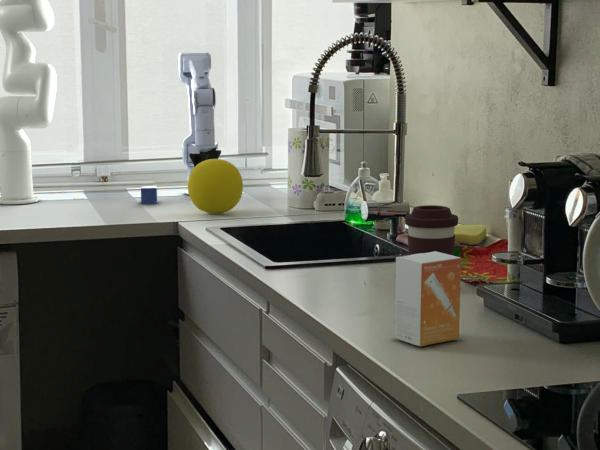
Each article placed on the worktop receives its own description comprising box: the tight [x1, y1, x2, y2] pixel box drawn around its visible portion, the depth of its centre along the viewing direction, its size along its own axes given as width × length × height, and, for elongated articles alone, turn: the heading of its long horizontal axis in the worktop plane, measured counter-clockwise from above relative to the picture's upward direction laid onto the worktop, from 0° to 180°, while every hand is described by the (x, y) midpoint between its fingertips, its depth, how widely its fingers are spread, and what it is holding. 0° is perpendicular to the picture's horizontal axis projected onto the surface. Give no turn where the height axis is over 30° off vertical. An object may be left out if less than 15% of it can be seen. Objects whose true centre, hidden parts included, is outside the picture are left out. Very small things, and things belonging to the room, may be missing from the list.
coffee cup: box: [404, 204, 459, 256], centre depth 197 cm, size 10×10×15 cm
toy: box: [187, 158, 244, 215], centre depth 287 cm, size 15×15×15 cm
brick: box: [140, 185, 158, 205], centre depth 310 cm, size 5×5×5 cm
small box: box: [394, 251, 462, 347], centre depth 161 cm, size 8×6×13 cm
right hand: (205, 175), depth 309 cm, fingers open, 7 cm apart
